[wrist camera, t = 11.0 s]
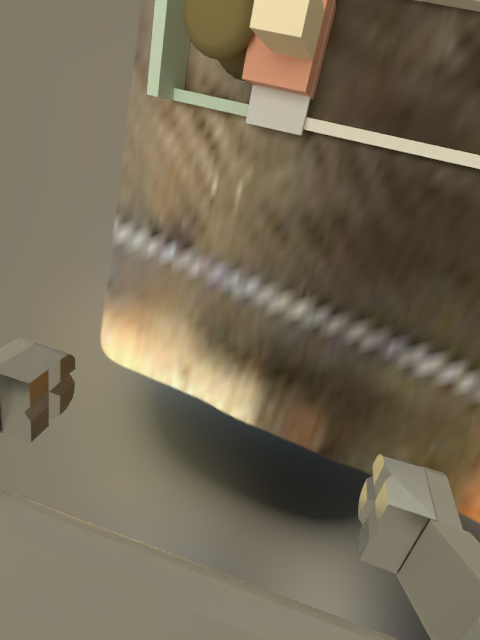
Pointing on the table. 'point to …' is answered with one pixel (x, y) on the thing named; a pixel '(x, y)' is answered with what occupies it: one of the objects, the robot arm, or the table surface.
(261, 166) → the table surface
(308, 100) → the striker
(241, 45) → the olive rounded upright piece
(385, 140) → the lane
